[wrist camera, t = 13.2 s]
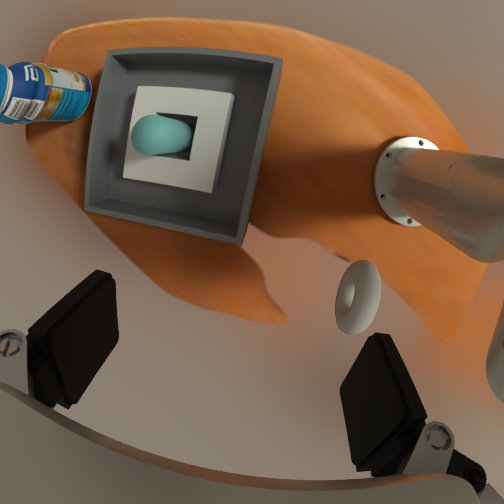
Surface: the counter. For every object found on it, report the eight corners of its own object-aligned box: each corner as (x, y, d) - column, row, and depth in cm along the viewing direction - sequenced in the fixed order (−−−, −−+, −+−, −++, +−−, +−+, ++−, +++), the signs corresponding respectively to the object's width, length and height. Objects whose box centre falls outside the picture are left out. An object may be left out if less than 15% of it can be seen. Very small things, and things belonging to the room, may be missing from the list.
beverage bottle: (55, 126, 33) (-41, 136, 15) (59, 79, 30) (-33, 70, 12) (92, 118, 33) (-13, 120, 14) (97, 67, 30) (0, 44, 11)
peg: (188, 116, 31) (157, 106, 22) (201, 142, 33) (175, 141, 23) (162, 131, 32) (125, 129, 23) (175, 157, 34) (141, 163, 24)
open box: (281, 72, 29) (283, 58, 24) (246, 230, 37) (241, 245, 32) (129, 60, 29) (108, 50, 24) (106, 201, 37) (84, 210, 32)
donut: (348, 246, 37) (370, 278, 28) (370, 251, 37) (396, 284, 28) (326, 306, 41) (338, 349, 32) (347, 310, 41) (362, 352, 32)
